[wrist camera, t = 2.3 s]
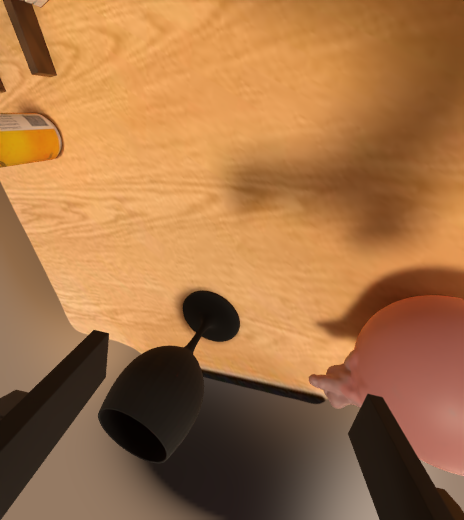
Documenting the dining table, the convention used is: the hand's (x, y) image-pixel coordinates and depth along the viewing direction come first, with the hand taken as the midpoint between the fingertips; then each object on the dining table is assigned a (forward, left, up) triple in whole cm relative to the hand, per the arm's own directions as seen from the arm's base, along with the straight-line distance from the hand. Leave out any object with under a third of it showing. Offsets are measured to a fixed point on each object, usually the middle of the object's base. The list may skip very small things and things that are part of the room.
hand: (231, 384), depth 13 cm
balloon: (+8, +16, -23) cm, 29 cm away
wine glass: (+20, -8, -23) cm, 31 cm away
